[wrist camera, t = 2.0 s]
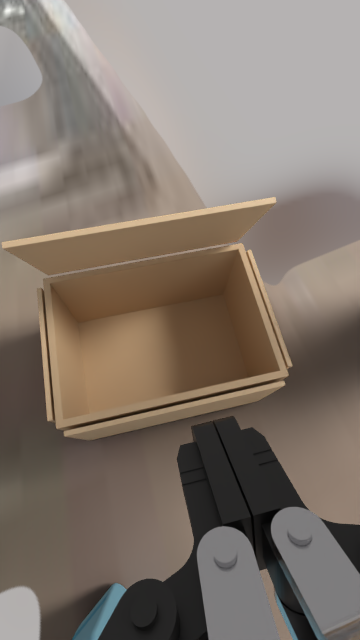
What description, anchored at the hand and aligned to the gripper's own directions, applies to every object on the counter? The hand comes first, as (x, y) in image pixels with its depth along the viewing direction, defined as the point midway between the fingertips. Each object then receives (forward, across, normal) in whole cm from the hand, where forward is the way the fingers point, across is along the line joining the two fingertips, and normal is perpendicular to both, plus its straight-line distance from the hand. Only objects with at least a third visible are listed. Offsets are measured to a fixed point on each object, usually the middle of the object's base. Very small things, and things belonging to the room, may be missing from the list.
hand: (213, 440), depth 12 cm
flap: (+24, 0, -2) cm, 24 cm away
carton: (+27, 0, +12) cm, 29 cm away
